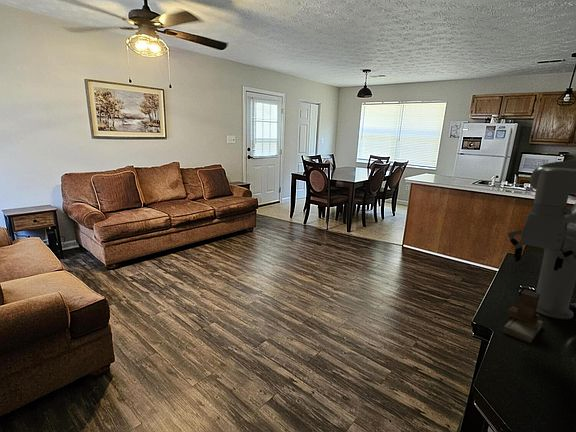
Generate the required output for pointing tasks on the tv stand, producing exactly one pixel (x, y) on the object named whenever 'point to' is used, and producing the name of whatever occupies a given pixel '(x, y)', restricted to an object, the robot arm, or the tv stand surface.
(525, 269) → the tv stand surface
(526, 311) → the brown slider knob
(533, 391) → the tv stand surface
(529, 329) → the board
